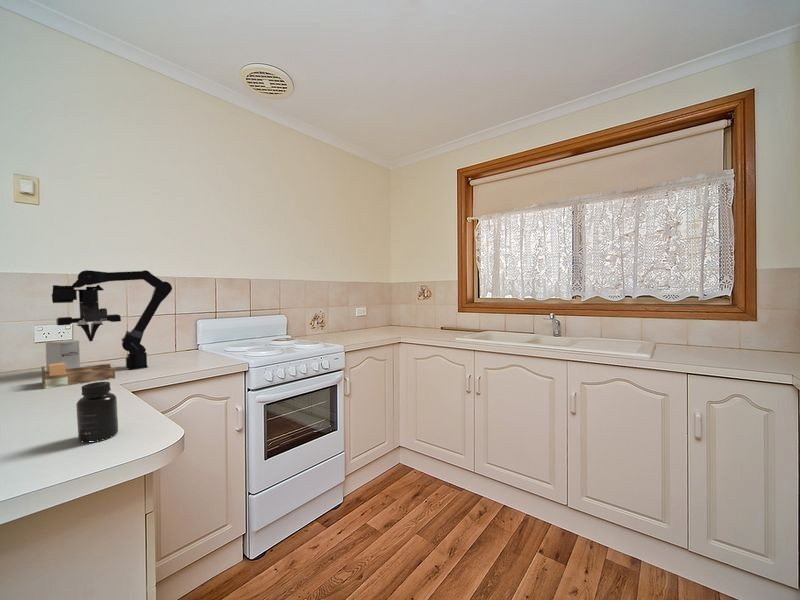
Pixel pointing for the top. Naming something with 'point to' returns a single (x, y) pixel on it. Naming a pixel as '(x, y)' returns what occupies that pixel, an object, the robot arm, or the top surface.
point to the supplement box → (63, 353)
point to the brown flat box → (78, 375)
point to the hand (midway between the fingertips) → (90, 341)
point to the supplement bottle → (97, 412)
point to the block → (56, 369)
